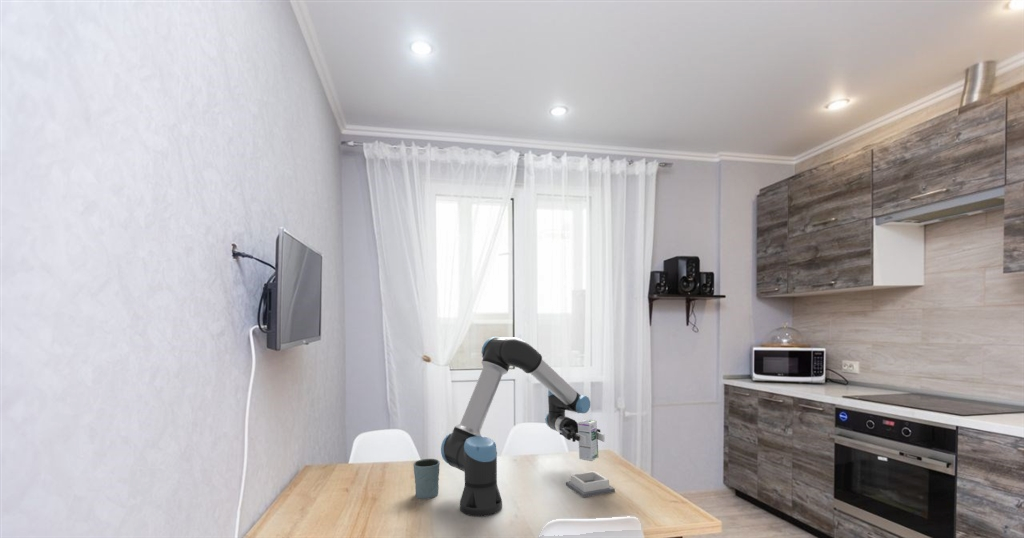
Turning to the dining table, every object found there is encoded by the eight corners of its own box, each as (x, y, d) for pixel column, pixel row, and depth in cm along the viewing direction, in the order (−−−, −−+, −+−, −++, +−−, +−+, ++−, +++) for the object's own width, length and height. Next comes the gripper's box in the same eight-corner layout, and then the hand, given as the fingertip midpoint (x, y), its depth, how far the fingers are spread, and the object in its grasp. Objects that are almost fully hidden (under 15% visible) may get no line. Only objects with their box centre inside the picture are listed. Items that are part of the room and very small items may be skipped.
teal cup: (434, 500, 168) (434, 467, 169) (408, 498, 170) (409, 466, 171) (443, 490, 177) (443, 458, 179) (419, 488, 179) (419, 457, 181)
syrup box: (592, 461, 174) (590, 423, 176) (578, 459, 178) (577, 421, 179) (598, 457, 179) (597, 420, 180) (585, 455, 182) (584, 418, 184)
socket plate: (583, 497, 168) (582, 485, 169) (565, 484, 181) (565, 474, 182) (614, 491, 173) (614, 480, 173) (595, 479, 186) (595, 469, 186)
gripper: (587, 432, 199) (617, 446, 178) (545, 437, 192) (571, 452, 171) (587, 415, 200) (616, 426, 179) (545, 419, 193) (570, 432, 171)
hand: (594, 439), depth 175 cm, fingers closed on syrup box, 8 cm apart
